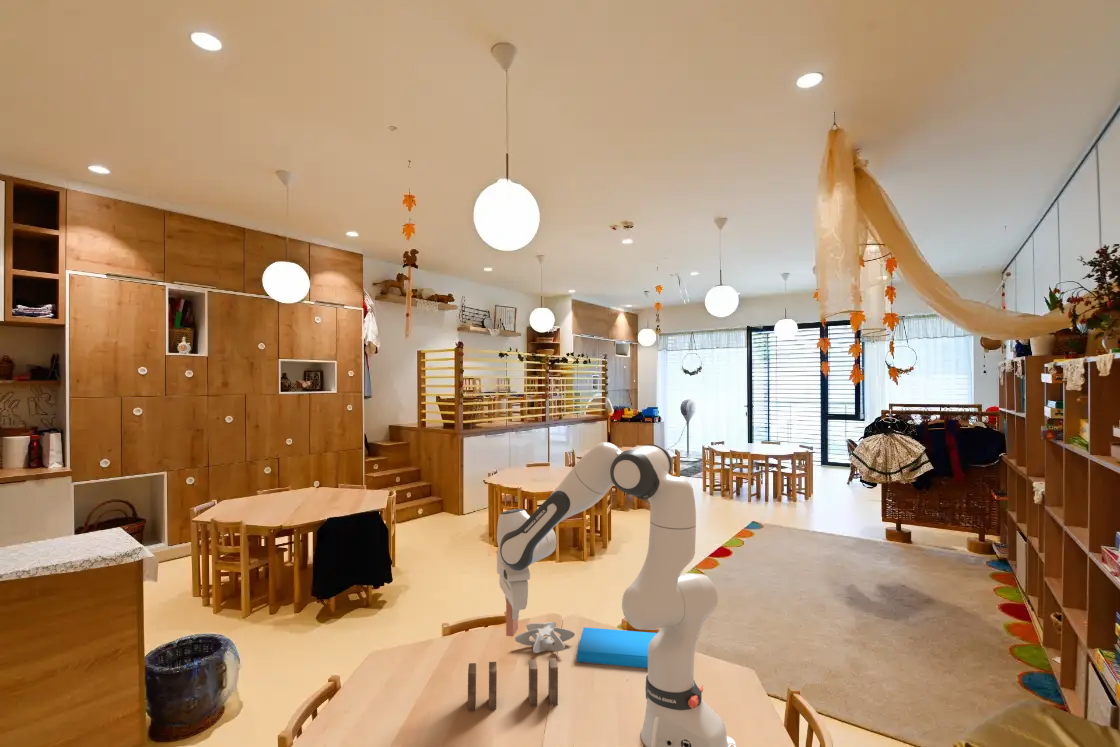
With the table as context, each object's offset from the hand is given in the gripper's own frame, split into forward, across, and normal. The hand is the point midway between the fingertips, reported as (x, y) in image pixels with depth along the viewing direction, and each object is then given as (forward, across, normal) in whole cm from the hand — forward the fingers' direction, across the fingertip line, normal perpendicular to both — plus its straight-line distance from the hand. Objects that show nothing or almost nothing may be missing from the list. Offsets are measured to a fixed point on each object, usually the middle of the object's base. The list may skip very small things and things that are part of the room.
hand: (512, 614), depth 156 cm
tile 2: (+20, +7, -7) cm, 23 cm away
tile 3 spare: (+5, 0, 0) cm, 5 cm away
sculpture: (+20, -20, +16) cm, 32 cm away
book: (+21, -8, +37) cm, 43 cm away
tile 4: (+20, +9, +4) cm, 23 cm away
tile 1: (+20, +6, -13) cm, 25 cm away
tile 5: (+20, +10, +9) cm, 25 cm away
